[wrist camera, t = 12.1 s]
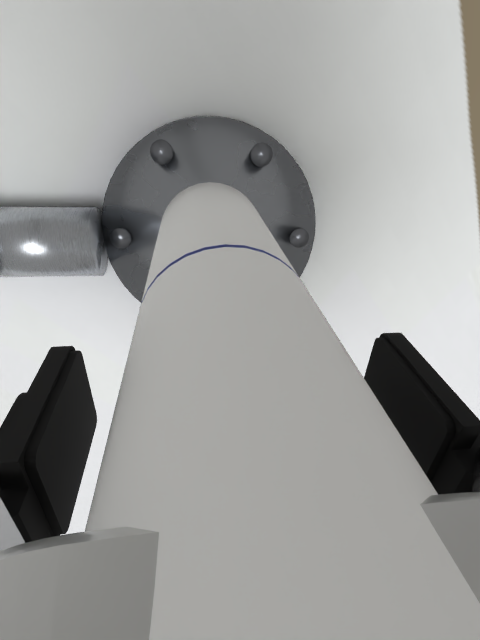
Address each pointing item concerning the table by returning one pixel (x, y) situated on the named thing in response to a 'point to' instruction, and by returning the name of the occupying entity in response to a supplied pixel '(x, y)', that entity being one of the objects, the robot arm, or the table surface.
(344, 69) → the table surface
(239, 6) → the table surface
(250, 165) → the flange fitting
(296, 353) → the cylindrical container
